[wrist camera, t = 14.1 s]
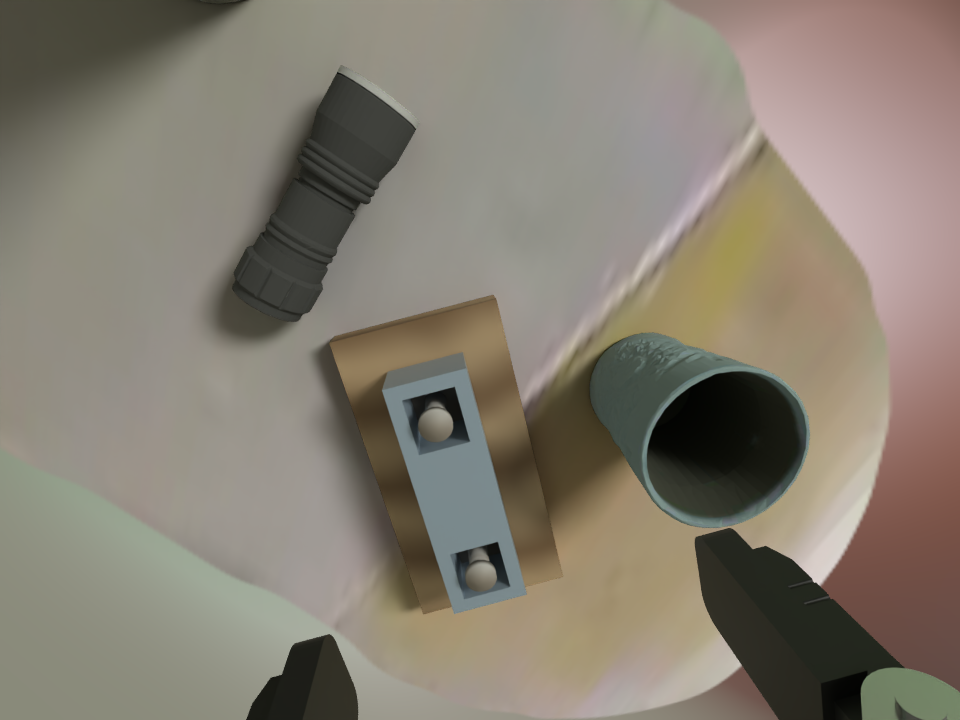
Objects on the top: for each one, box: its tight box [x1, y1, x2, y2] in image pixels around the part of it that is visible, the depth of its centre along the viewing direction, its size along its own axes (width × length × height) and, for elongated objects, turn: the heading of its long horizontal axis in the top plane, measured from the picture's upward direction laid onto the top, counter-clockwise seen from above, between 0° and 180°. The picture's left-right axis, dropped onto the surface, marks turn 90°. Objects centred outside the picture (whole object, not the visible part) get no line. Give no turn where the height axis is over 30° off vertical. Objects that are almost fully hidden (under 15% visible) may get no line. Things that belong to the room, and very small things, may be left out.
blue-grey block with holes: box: [382, 352, 527, 614], centre depth 37 cm, size 18×6×4 cm, turn 14°
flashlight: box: [233, 65, 420, 322], centre depth 32 cm, size 15×5×5 cm, turn 147°
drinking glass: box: [590, 333, 810, 528], centre depth 35 cm, size 10×10×12 cm
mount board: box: [329, 295, 563, 614], centre depth 37 cm, size 24×12×7 cm, turn 14°
